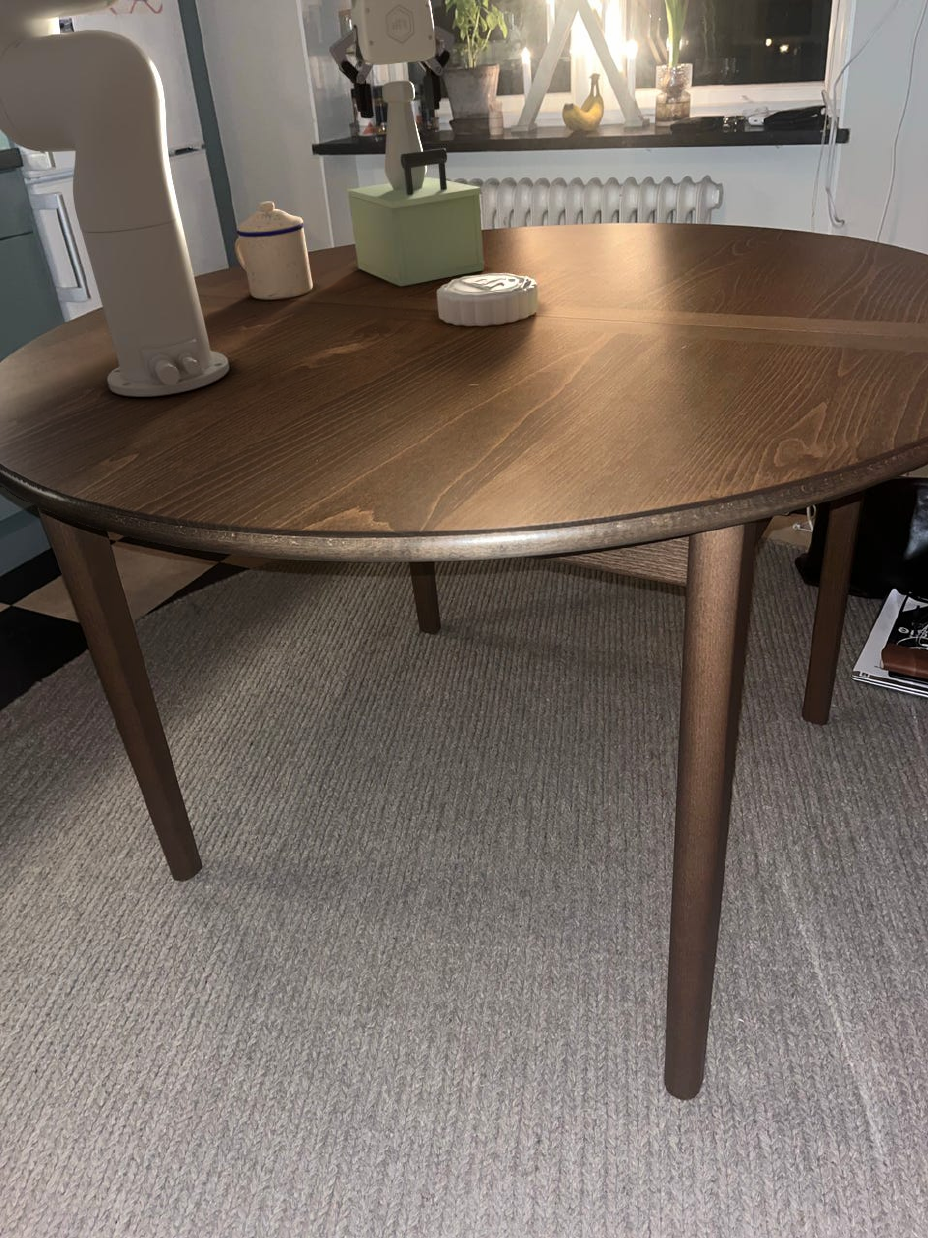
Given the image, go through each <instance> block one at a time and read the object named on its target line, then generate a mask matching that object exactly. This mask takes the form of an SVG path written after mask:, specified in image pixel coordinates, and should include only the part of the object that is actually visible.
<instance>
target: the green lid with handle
mask: <svg viewBox="0 0 928 1238" xmlns="http://www.w3.org/2000/svg"><path fill="white" fill-rule="evenodd" d="M447 161H448V153H447V150H446V148H444V147H441V148H435V149H426V150H423V151H419V152H413V153H406V154H402V155H401V165H402V167H403V169H404V171H405V181H406V190H394V189H393V188H392V186H391V184H390V182H388V183H381V184H375V185H368V186H362V187H356V188H350V189H349V188H348V189H347V195H348V197H349V196H352V197H355V198H359V199H362V200H366V201H369V202H373V203H376V204H380V205H383V206H387V207H390V208H400V207H406V206H412V205H418V204H424V203H430V202H436V201H442V200H448V199H454V198H460V197H466V196H472V195H479V196H480V195H482V194H483V189H482V187H481V186H475V185H471V184H466V183H462V182H461V183H460V182H456V181H451V180H447V175H446V174H447V173H446V163H447ZM434 165H437V166H438V175H439V176H438V177H439V178H436V177H432V176H427V177H426V176H425V177H424V181H423V185H422V187H420V188H416V189H413V185H412V175H411V168H415V167H422V166H434Z"/></svg>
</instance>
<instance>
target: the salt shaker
mask: <svg viewBox="0 0 928 1238" xmlns="http://www.w3.org/2000/svg"><path fill="white" fill-rule="evenodd" d="M381 96H382V100H383V102H384V103H386V104H387V116H386V134H385V135H386V136H385V154H384V155H385V157H384V158H385V159H384V173H385V176H386V178H387V181H388V183H390V184H391V186H392V188H393V189H394V190H406V181H405V171H404V169H403V167H402V165H401V155H402V154H406V153H413V152H419V151H424V150H423V146H422V143H421V139H420V134H419V132H418V128H417V123H416V120H415V116H414V112H413V107H412V103H411V101H413V100H414V99H415V96H416V95H415V87H414V84H413V83H412V81H410V80H402V79H401V80H393V81H388V82H386V83H384V84H383V85H382V87H381ZM427 169H428V167H427V166H422V167H415V168H411V175H412V185H413V189H416V188H420V187H422V185H423V181H424V178H426V174H427V171H428V170H427Z"/></svg>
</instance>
